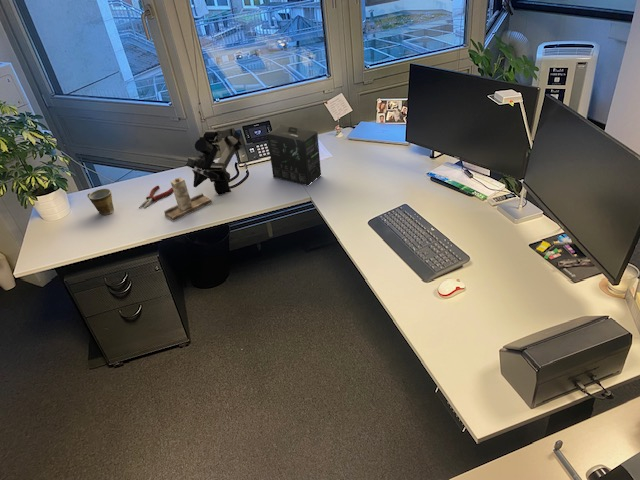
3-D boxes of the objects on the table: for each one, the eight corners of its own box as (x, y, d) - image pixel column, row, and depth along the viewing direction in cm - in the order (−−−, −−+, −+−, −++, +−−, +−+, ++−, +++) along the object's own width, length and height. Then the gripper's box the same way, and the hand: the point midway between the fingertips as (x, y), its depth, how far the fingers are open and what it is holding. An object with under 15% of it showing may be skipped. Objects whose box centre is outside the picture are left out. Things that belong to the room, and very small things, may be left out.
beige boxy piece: (185, 202, 220) (177, 174, 212) (194, 207, 215) (186, 179, 207) (176, 206, 218) (167, 178, 209) (185, 212, 213) (176, 183, 204)
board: (202, 197, 226) (201, 192, 225) (211, 202, 221) (210, 197, 220) (165, 215, 216) (163, 210, 214) (173, 220, 211) (172, 216, 209)
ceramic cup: (122, 207, 226) (115, 189, 220) (108, 218, 218) (100, 200, 212) (101, 204, 230) (93, 187, 224) (86, 215, 222) (78, 197, 216)
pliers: (132, 208, 224) (130, 204, 223) (158, 188, 239) (156, 184, 238) (151, 211, 220) (149, 207, 219) (176, 191, 235) (174, 186, 234)
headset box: (322, 175, 233) (317, 127, 218) (309, 186, 225) (303, 136, 210) (286, 168, 244) (279, 121, 229) (272, 178, 236) (264, 130, 221)
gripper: (184, 144, 214) (170, 175, 215) (206, 155, 203) (191, 187, 203) (202, 154, 223) (188, 183, 224) (225, 164, 212) (210, 195, 212)
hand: (194, 187), depth 215 cm, fingers closed
